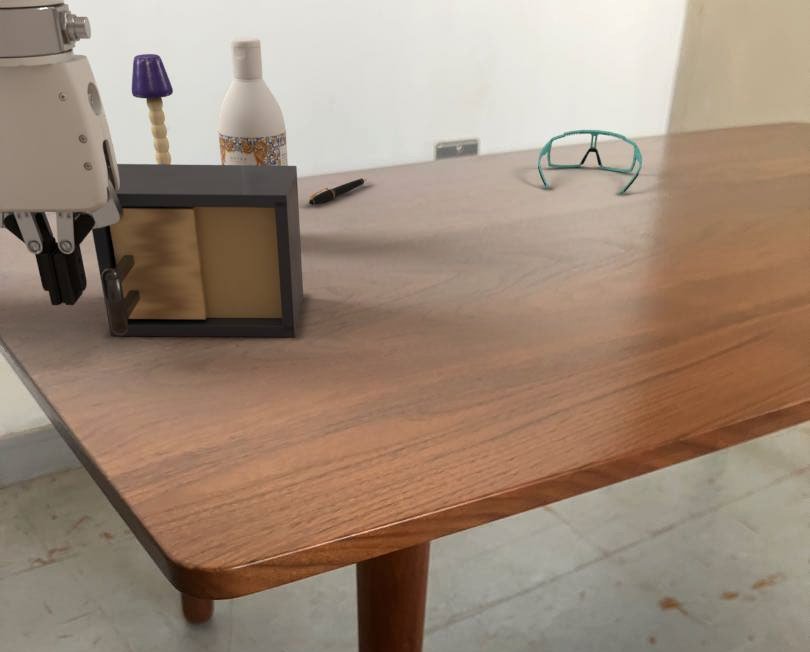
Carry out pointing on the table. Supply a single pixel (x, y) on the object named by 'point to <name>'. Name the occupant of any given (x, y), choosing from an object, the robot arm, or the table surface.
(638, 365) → the table surface
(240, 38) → the bath foam
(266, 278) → the cupboard
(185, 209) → the sliding door
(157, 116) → the toy lamp
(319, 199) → the fountain pen
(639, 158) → the sunglasses
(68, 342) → the table surface
